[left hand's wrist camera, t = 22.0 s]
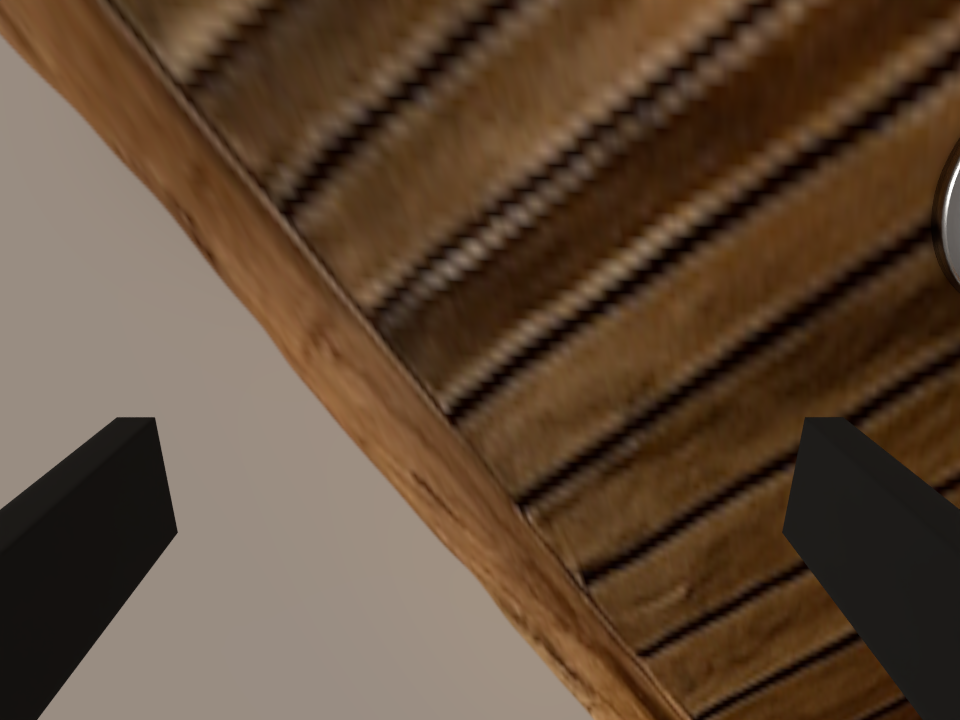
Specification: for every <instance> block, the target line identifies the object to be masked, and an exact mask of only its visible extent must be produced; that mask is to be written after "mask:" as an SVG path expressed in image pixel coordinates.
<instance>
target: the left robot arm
mask: <svg viewBox="0 0 960 720" xmlns="http://www.w3.org/2000/svg"><path fill="white" fill-rule="evenodd" d="M931 229H932V240H933V246H934V250H935V254H936V257H937V260H938V262H939V265H940V267H941V269H942V271H943V273H944V275H945V276H946V278H947V279H948V280H949V282H950V283H951V284H952V286H953V287H954V288H955V289H956V290H957V291H958V292H959V293H960V138H959V140H958V141H957V143H956V144H955V146H954V148H953V150H952V152H951V153H950V155H949V157H948V159H947V161H946V164H945V166H944V168H943V170H942V173H941V176H940V178H939V181H938V184H937V188H936V192H935V196H934V201H933V207H932V218H931ZM177 533H178V531H177V527H176V521H175V516H174V511H173V506H172V501H171V496H170V491H169V486H168V481H167V476H166V471H165V466H164V461H163V456H162V451H161V446H160V441H159V436H158V431H157V426H156V420H155V418H154V417H117V418H116V419H114V420H113V421H112V422H111V423H109V424H108V425H107V426H105V427H104V428H103V429H102V430H100V431H99V432H98V433H97V434H95V435H94V436H93V437H92V438H90V439H89V440H88V441H87V442H85V443H84V444H83V445H82V446H80V447H79V448H78V449H76V450H75V451H74V452H73V453H71V454H70V455H69V456H68V457H66V458H65V459H64V460H63V461H61V462H60V463H59V464H57V465H56V466H55V467H54V468H52V469H51V470H50V471H49V472H47V473H46V474H45V475H44V476H42V477H41V478H40V479H38V480H37V481H36V482H35V483H33V484H32V485H31V486H30V487H28V488H27V489H26V490H25V491H23V492H22V493H21V494H20V495H18V496H17V497H16V498H14V499H13V500H12V501H11V502H9V503H8V504H7V505H6V506H4V507H3V508H2V509H1V510H0V720H37V719H38V718H39V717H40V715H41V714H42V713H43V711H44V710H45V709H46V707H47V706H48V705H49V703H50V702H51V701H52V699H53V698H54V697H55V695H56V694H57V693H58V691H59V690H60V689H61V687H62V686H63V685H64V683H65V682H66V681H67V679H68V678H69V677H70V675H71V674H72V673H73V671H74V670H75V669H76V667H77V666H78V665H79V663H80V662H81V661H82V659H83V658H84V657H85V655H86V654H87V653H88V651H89V650H90V649H91V647H92V646H93V645H94V643H95V642H96V641H97V639H98V638H99V637H100V635H101V634H102V633H103V631H104V630H105V629H106V627H107V626H108V625H109V623H110V622H111V621H112V619H113V618H114V617H115V615H116V614H117V613H118V611H119V610H120V609H121V607H122V606H123V605H124V603H125V602H126V601H127V599H128V598H129V597H130V595H131V594H132V593H133V591H134V590H135V589H136V587H137V586H138V585H139V583H140V582H141V581H142V579H143V578H144V577H145V575H146V574H147V573H148V571H149V570H150V569H151V567H152V566H153V565H154V563H155V562H156V561H157V559H158V558H159V557H160V555H161V554H162V553H163V551H164V550H165V549H166V547H167V546H168V545H169V544H170V542H171V541H172V540H173V538H174V537H175V536H176V534H177ZM782 533H783V534H784V536H785V537H786V538H787V540H788V541H789V542H790V544H791V545H792V546H793V548H794V549H795V550H796V551H797V553H798V554H799V555H800V557H801V558H802V559H803V561H804V562H805V563H806V565H807V566H808V567H809V569H810V570H811V571H812V573H813V574H814V575H815V577H816V578H817V579H818V581H819V582H820V583H821V585H822V586H823V587H824V589H825V590H826V591H827V593H828V594H829V595H830V597H831V598H832V599H833V601H834V602H835V603H836V605H837V606H838V607H839V609H840V610H841V611H842V613H843V614H844V615H845V617H846V618H847V619H848V621H849V622H850V623H851V625H852V626H853V627H854V629H855V630H856V631H857V633H858V634H859V635H860V637H861V638H862V639H863V641H864V642H865V643H866V645H867V646H868V647H869V649H870V650H871V651H872V653H873V654H874V655H875V657H876V658H877V659H878V661H879V662H880V663H881V665H882V666H883V667H884V669H885V670H886V671H887V673H888V674H889V675H890V677H891V678H892V679H893V681H894V682H895V683H896V685H897V686H898V687H899V689H900V690H901V691H902V693H903V694H904V695H905V697H906V698H907V699H908V701H909V702H910V703H911V705H912V706H913V707H914V709H915V710H916V711H917V713H918V714H919V715H920V717H921V718H922V719H923V720H960V510H959V509H958V508H957V507H956V506H954V505H953V504H952V503H951V502H949V501H948V500H947V499H946V498H944V497H943V496H942V495H940V494H939V493H938V492H937V491H935V490H934V489H933V488H932V487H930V486H929V485H928V484H927V483H925V482H924V481H923V480H922V479H920V478H919V477H918V476H916V475H915V474H914V473H913V472H911V471H910V470H909V469H908V468H906V467H905V466H904V465H903V464H901V463H900V462H899V461H897V460H896V459H895V458H894V457H892V456H891V455H890V454H889V453H887V452H886V451H885V450H884V449H882V448H881V447H880V446H879V445H877V444H876V443H875V442H873V441H872V440H871V439H870V438H868V437H867V436H866V435H865V434H863V433H862V432H861V431H860V430H858V429H857V428H856V427H855V426H853V425H852V424H851V423H849V422H848V421H847V420H846V419H844V418H843V417H805V420H804V425H803V431H802V436H801V441H800V446H799V451H798V456H797V461H796V466H795V471H794V476H793V481H792V486H791V491H790V496H789V501H788V506H787V511H786V516H785V521H784V526H783V531H782Z"/></svg>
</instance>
